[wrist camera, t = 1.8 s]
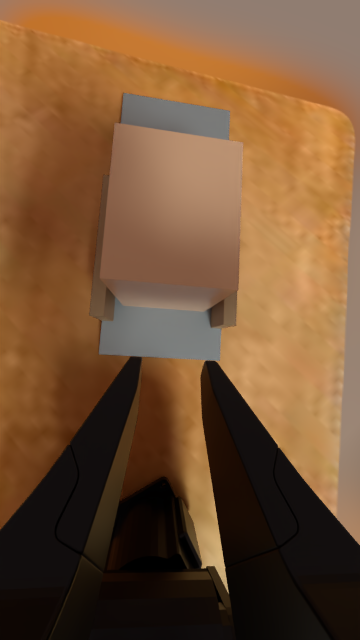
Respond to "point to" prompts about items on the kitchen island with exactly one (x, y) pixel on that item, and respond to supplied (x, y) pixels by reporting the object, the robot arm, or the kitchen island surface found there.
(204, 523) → the kitchen island surface
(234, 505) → the robot arm
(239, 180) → the block
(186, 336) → the chute
